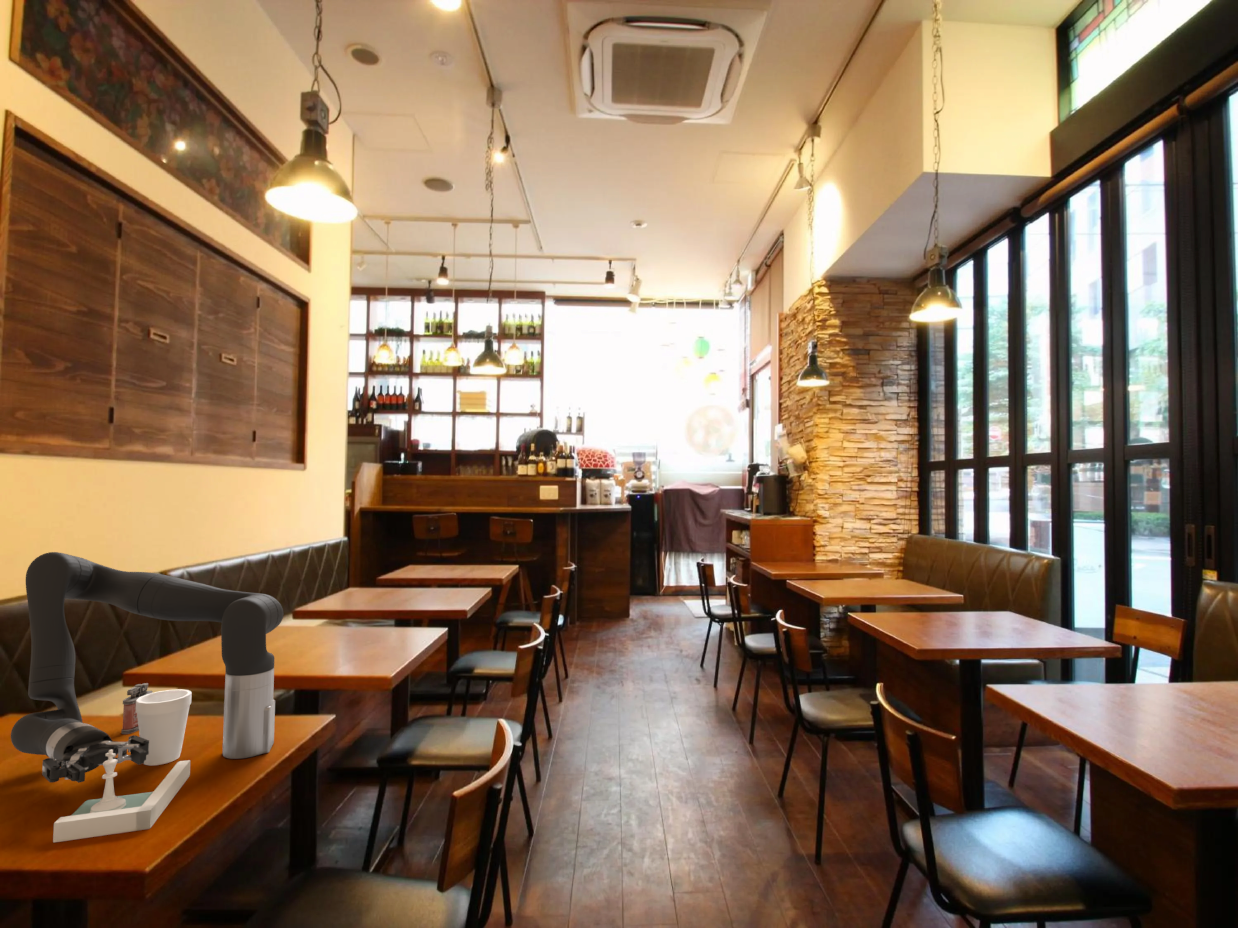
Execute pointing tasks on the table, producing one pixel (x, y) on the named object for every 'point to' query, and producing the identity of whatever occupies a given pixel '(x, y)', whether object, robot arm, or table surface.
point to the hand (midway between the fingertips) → (113, 766)
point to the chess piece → (109, 788)
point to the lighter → (132, 708)
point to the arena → (123, 810)
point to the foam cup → (163, 723)
